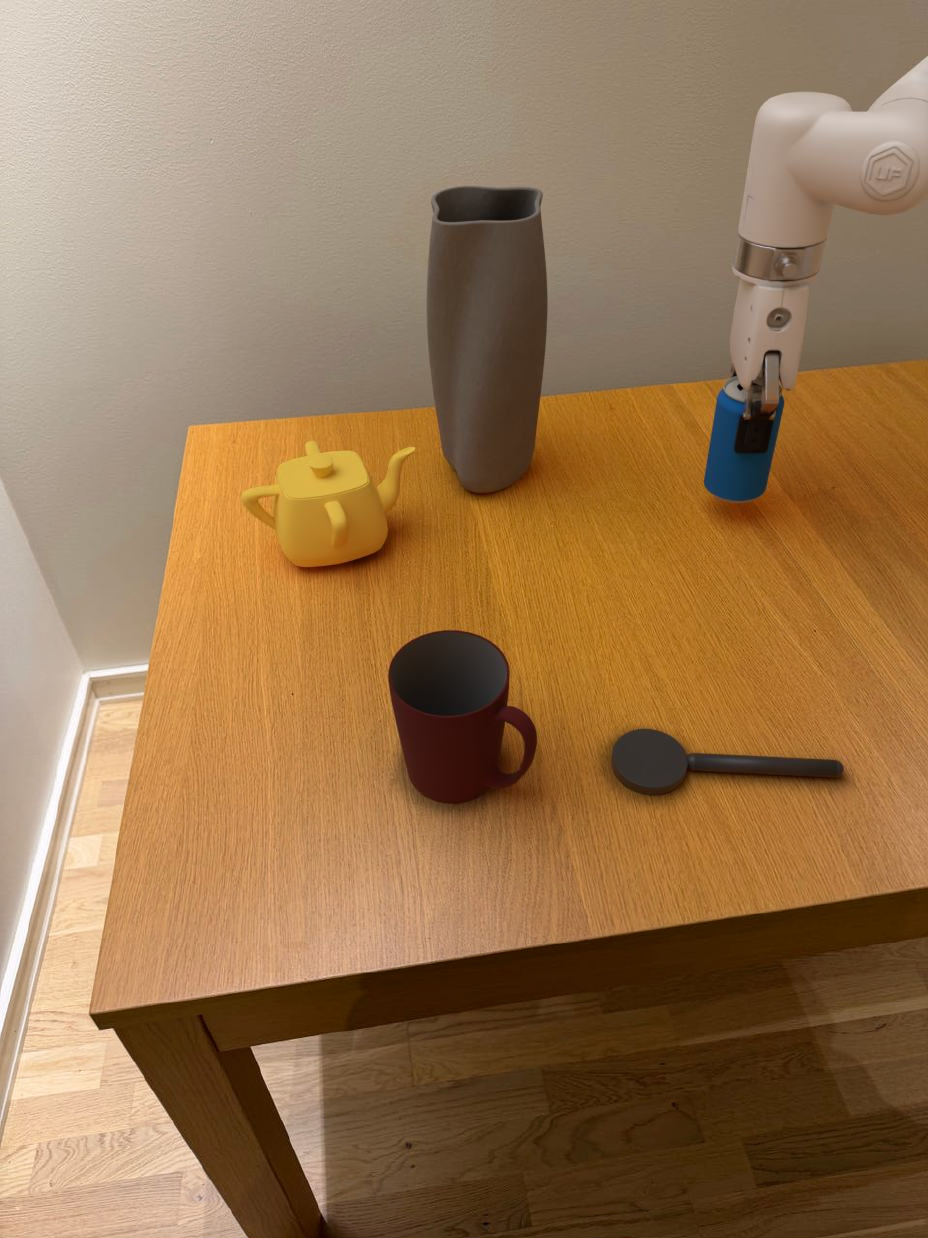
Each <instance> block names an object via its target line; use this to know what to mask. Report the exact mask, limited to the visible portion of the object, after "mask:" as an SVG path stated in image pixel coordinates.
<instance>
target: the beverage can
mask: <svg viewBox="0 0 928 1238" xmlns="http://www.w3.org/2000/svg"><path fill="white" fill-rule="evenodd" d="M740 385H741V384H740V382H739V379H738V376H735V377H732V378H731V377H729V378H728V379H727V380H725V381H724V383H723V387H722V388H721V389H720V391H719V392H718V394H717V396H716V402H715V408H714V414H713V421H712V427H711V434H710V438H709V439H710V440H709V446H708V452H707V458H706V465H705V470H704V471H705V472H704V477H703V486H704V488H705V490H707V491H708V493H710V494H711V495H712V496H713V497H715V498H716V499H718V500H720V501H722V502H725V503H729V504H744V503H749V502H752V501H753V500H757V499H758V498H760V497H761V496H763V495H764V494H765V492H766V491H767V486H768V482H769V477H770V472H771V468H772V462H773V460H774V454H775V449H776V444H777V440H778V435H779V432H780V431H779V430H780V427H781V422H782V417H783V413H784V408H785V398H784V396H783V388H782V385H781V383H779V404H778V406H777V409H776V413H775V418H774V422H773V427H772V432H771V436H770V441H769V446H768V450H767V452H766V453H735V451H734V443H735V437H736V432H737V426H738V421H739V415H743V413H744V401H745V389H744V388H743V390H741V391H740ZM752 385H762V379H756V380H753V384H752ZM761 396H762V392H753V403H752V405H753V404H754V403H755V402H756V401H757V400H760V398H761Z"/></svg>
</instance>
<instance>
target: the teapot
mask: <svg viewBox="0 0 928 1238" xmlns="http://www.w3.org/2000/svg"><path fill="white" fill-rule="evenodd" d="M415 451H416V447H415V446H408V447H405V448H402V449H400V450H398V451H396V452H395V453H394V454H393V455H392V456H391V458H390V459H389V461H388V465H387V469H386V474H385V477H384V479H383V481H382V482H381V483H380V484H378V485H376V484H375V481H374V480H373V477H372V475H371V474H370V472H369V470H368V469H367V467H366V465H365V463H364V461H363V459H362V458H361V456H360V455H359V454H358V453H357V452H355V451H353V450H333V451H325V452H322V449H321V446H320V444H319V442H318V441H316V440H309V441H307V442H306V443H305V444H304V452H305V455H304V456H303V455H302V456H299V457H296V458H292V459H289V460H286V461H284V462H282V463H280V465H278V467H277V470H276V473H275V477H274V483H273V484H272V485H271V484H270V485H260V486H254V487H251V488H248V489H246V490H244V491H243V492H242V494H241V496H240V497H241V502H242V506H244V508H245V509H246V511H247V512H248V513H250V514H251V515H252V516H253V517H254V518H256V519H257V520H259V521H260V522H262V523H263V524H265V525H267V526H268V527H270V528H272V529H273V530H274V532H275V536H276V539H277V541H278V544H279V546H280V549H281V550H282V552H283V554H284V556H285V557H286V558H287V559H288V560H289V561H290V563H292V565H294V566H296V567H300V568H316V567H324V566H325V567H326V566H333V565H339V564H344V563H348V562H351V561H355V560H359V559H361V558H364V557H367V556H369V555H372V554H375V553H377V552H378V551H380V550H381V549H382V548H383V545H385V543H386V540H387V538H388V533H389V528H388V522H387V517H386V515H387V514H388V513H389V512H390V511H392V509H393V508H394V507H395V506H396V504H397V501H398V500H399V497H400V496H399V495H400V490H401V474H402V469H403V466H404V463H405V461H406V460H407V459H408V458H409V457H410V456H411V455H412V454H413V453H414V452H415ZM269 497H271V498H272V499H271V501H272V502H271V503H272V515H271V514H270V513H269V512H268V511H266V509H265V508H264V507H263V506H262V504H261V503H260V502H259V500H260V499H263V498H269Z"/></svg>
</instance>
